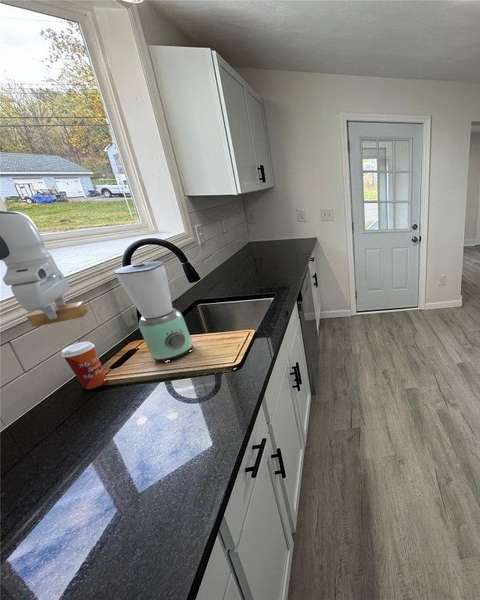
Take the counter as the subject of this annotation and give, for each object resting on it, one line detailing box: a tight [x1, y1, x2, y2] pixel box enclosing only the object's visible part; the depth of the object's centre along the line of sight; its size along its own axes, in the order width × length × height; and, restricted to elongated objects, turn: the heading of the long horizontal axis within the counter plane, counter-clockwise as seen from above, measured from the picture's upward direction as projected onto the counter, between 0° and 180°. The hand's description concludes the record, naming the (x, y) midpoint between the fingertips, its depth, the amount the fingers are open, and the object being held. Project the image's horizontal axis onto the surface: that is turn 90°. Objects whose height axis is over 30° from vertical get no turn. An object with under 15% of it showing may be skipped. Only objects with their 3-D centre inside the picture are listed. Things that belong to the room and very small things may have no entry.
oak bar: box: [26, 300, 89, 328], centre depth 93 cm, size 11×5×4 cm, turn 120°
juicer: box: [113, 260, 194, 363], centre depth 111 cm, size 19×13×35 cm
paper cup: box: [60, 341, 108, 390], centre depth 100 cm, size 8×8×14 cm
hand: (58, 314), depth 93 cm, fingers closed on oak bar, 5 cm apart
